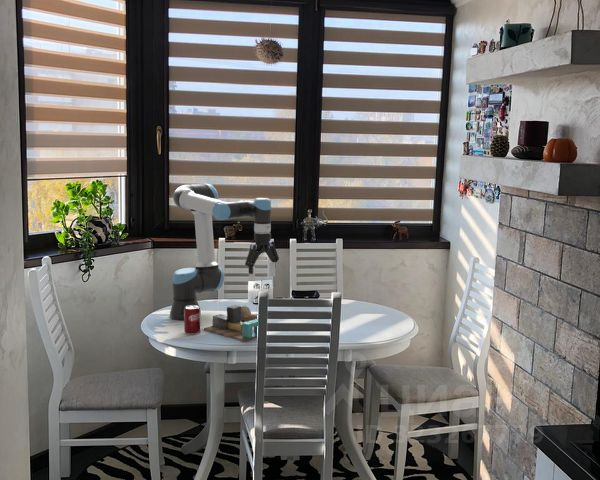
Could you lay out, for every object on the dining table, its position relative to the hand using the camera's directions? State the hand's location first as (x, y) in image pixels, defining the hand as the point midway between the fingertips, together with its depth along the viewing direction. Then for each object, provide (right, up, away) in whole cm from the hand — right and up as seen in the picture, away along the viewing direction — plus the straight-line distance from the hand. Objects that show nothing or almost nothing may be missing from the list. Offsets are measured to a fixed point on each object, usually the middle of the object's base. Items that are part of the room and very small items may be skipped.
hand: (262, 278), depth 342 cm
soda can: (-32, -25, 0) cm, 41 cm away
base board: (-12, -25, 0) cm, 28 cm away
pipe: (-5, -22, +21) cm, 31 cm away
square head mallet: (-15, -23, +2) cm, 27 cm away
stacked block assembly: (-12, -24, 0) cm, 27 cm away
